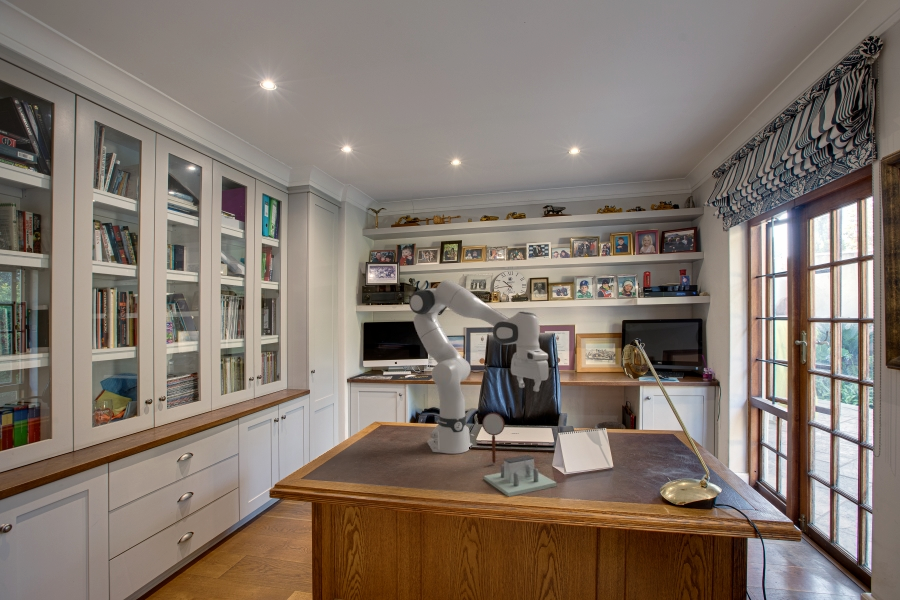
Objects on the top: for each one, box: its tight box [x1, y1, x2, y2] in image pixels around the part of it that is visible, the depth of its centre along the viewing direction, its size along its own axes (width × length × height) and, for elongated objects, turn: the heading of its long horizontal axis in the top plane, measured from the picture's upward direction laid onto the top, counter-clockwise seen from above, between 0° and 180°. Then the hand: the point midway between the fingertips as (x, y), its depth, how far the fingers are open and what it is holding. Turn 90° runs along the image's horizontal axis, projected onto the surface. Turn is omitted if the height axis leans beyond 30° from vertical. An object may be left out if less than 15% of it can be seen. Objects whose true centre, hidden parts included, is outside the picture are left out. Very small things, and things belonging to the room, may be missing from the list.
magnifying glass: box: [481, 412, 505, 466], centre depth 163 cm, size 9×2×20 cm, turn 74°
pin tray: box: [483, 464, 557, 497], centre depth 145 cm, size 16×19×5 cm
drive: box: [503, 454, 535, 483], centre depth 145 cm, size 4×10×7 cm, turn 114°
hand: (528, 389), depth 162 cm, fingers open, 8 cm apart
